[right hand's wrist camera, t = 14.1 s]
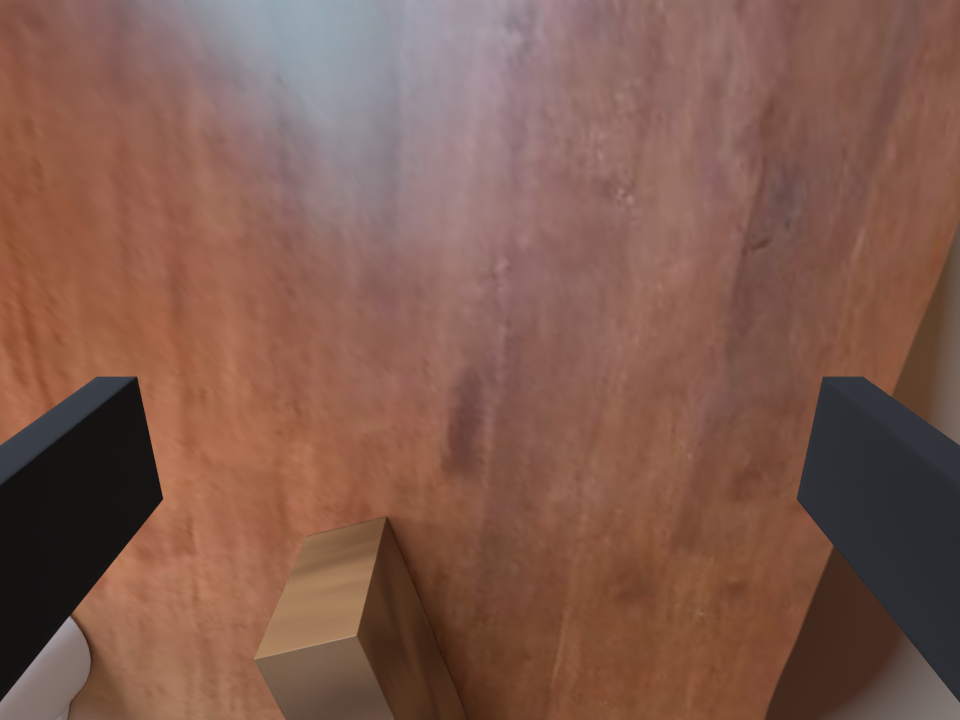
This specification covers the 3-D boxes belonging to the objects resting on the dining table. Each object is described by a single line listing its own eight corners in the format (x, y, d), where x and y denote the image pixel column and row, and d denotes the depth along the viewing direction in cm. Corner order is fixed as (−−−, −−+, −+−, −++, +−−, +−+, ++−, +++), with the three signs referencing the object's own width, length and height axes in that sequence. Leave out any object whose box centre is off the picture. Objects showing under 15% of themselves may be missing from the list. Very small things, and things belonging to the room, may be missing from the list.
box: (306, 536, 48) (253, 659, 37) (386, 516, 48) (356, 635, 37) (413, 770, 57) (395, 927, 46) (482, 755, 56) (482, 912, 45)
